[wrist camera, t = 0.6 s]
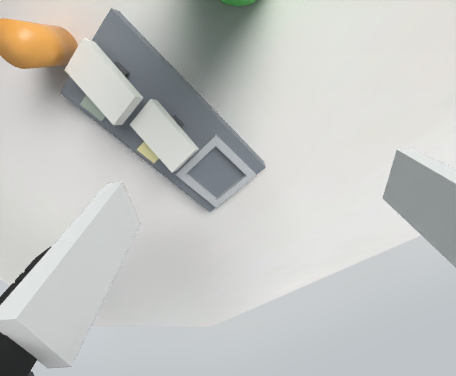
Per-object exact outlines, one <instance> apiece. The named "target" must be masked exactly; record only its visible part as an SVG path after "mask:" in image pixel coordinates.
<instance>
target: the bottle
mask: <svg viewBox="0 0 456 376" xmlns="http://www.w3.org/2000/svg"><path fill="white" fill-rule="evenodd" d="M220 1H222V2H223V3H225V4H229V5H233V6H238V7H239V6H243V5H247V4H252V3H253V2H255V1H256V0H220Z"/></svg>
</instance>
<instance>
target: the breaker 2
mask: <svg viewBox="0 0 456 376" xmlns="http://www.w3.org/2000/svg"><path fill="white" fill-rule="evenodd" d="M130 126H131V127H132V128H133V129H134V130H135V131H136V133H137V134H138V135H139V136H140V137H141V138H142V139H143V140H144V142H145V143H146V144H147V145H148V146H149V147H150V148H151V150H152V151H153V152H154V153H155V154H156V155H157V156H158V158H159V159H160V160H161V161H162V162H163V163H164V164H165V165H166V167H167V168H168V169H169V170H170V171H171V172H172V173H173V172H175V171H177V170H178V169H179V168H180V167H181V166H182V165H183V164H184V163H185V162H186V161H187V160H188V159H189V158H190V157H191V156H193V155H194V154H195V153H196V152H197V151H198V150H199V148H198V147H197V146H196V145H195V144H194V142H193V141H192V140H191V139H190V138H189V137H188V135H187V134H186V133H185V132H184V131H183V130H182V128H181V127H180V126H179V125H178V124H177V123H176V121H175V120H174V119H173V118H172V117H171V116H170V115H169V113H168V112H167V111H166V110H165V109H164V108H163V106H162V105H161V104H160V103H159V102H158V101H157V100H153V99H150V100H149V101H148V103H147V104H146V105H145V106H144V108H143V109H142V110H141V111H140V112H139V114H138V115H137V116H136V117H135V119H134V120H133V121H132V122H131V124H130Z"/></svg>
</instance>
